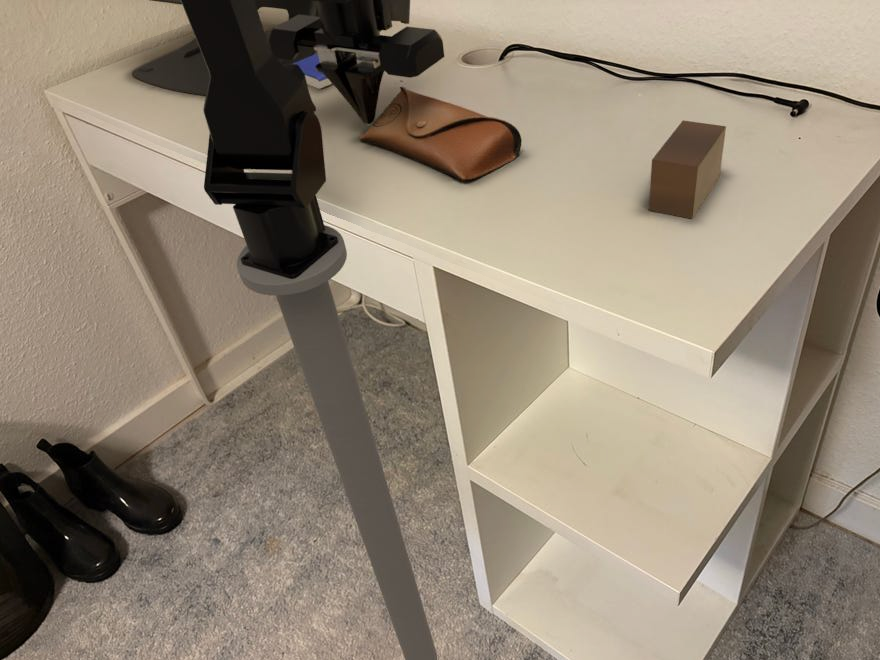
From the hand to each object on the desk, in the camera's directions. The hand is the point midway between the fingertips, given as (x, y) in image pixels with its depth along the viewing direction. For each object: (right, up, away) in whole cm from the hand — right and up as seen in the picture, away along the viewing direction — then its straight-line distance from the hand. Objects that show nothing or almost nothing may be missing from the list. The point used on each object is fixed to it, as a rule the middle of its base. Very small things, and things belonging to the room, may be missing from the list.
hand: (369, 122), depth 82 cm
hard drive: (-7, +13, +18) cm, 23 cm away
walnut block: (+31, -11, -14) cm, 36 cm away
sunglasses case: (+8, -4, -2) cm, 9 cm away
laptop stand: (-23, +17, +25) cm, 38 cm away
